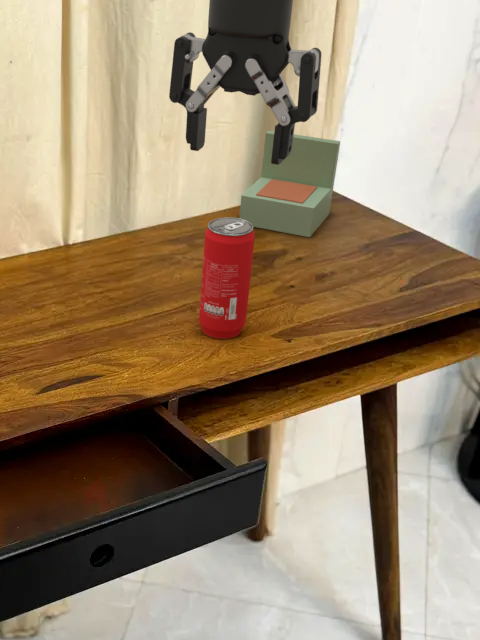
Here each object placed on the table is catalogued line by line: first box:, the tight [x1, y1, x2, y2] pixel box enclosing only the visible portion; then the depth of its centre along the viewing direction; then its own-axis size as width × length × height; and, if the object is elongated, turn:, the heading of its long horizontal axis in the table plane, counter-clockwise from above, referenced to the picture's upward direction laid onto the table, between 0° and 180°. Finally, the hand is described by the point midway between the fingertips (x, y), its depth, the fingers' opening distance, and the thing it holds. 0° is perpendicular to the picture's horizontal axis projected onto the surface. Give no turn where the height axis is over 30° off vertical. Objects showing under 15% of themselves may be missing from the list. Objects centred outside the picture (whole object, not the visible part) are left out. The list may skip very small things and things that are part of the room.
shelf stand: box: [238, 130, 341, 238], centre depth 132 cm, size 10×9×10 cm
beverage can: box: [198, 216, 256, 340], centre depth 106 cm, size 5×5×12 cm
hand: (237, 155), depth 98 cm, fingers open, 8 cm apart
